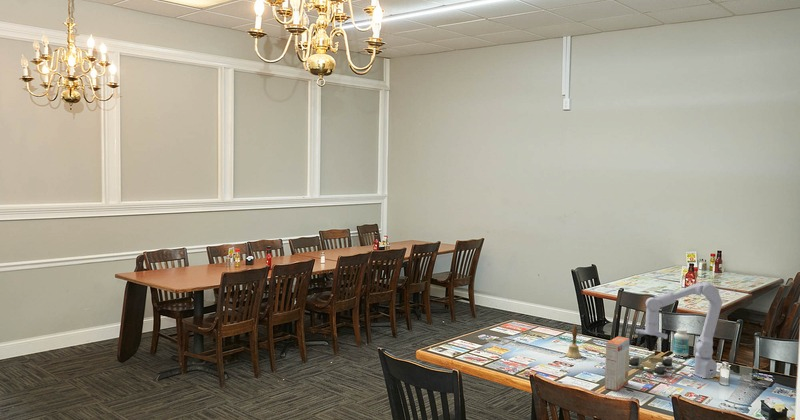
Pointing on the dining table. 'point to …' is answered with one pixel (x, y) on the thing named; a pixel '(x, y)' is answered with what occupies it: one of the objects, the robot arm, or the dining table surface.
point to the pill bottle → (681, 343)
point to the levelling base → (651, 369)
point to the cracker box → (617, 363)
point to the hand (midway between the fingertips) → (650, 350)
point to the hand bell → (573, 346)
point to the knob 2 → (662, 360)
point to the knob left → (655, 367)
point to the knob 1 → (634, 360)
